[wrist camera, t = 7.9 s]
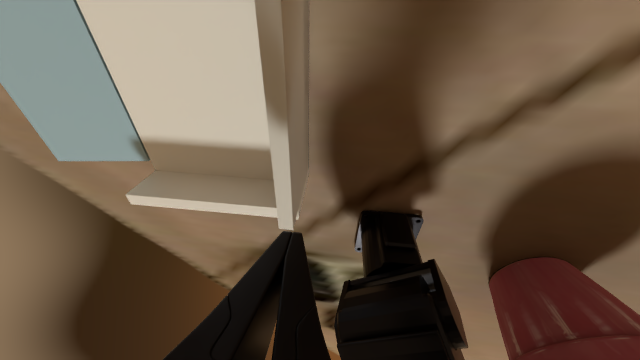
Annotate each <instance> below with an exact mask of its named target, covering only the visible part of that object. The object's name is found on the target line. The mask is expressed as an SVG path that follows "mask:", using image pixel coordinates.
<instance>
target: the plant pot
mask: <svg viewBox="0 0 640 360" xmlns="http://www.w3.org/2000/svg"><path fill="white" fill-rule="evenodd" d="M489 288H490V291H491V295H492V299H493V303H494V307H495V311H496V315H497V319H498V323H499V326H500V330H501V333H502V337H503V340H504V344H505V347H506V351H507V354H508V357H509V360H640V315H639V314H637V313H636V312H635V311H633V310H632V309H631V308H629V307H628V306H627V305H625V304H624V303H623V302H621V301H620V300H619V299H617V298H616V297H615V296H613V295H612V294H611V293H609V292H608V291H607V290H605V289H604V288H603V287H601V286H600V285H599V284H597V283H596V282H594V281H593V280H592V279H590V278H589V277H588V276H586V275H585V274H583V273H582V272H581V271H579V270H578V269H577V268H575V267H574V266H573V265H571V264H570V263H568V262H567V261H564V260H561V259H557V258H549V257H539V258H530V259H525V260H521V261H517V262H514V263H512V264H509V265H507V266H505V267H504V268H502V269H500V270H499V271H497V272H496V273H495V274H494V275H493V276H492V278H491V279H490V282H489Z"/></svg>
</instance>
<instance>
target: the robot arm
mask: <svg viewBox="0 0 640 360" xmlns="http://www.w3.org/2000/svg"><path fill="white" fill-rule="evenodd" d="M364 215H367V216H364ZM422 224H423V218H422V216H420V215H411V214H399V213H388V212H376V211H363V212H362V213H361V216H360V221H359V227H358V232H357V237H356V243H355V251H357V252H362V256H363V271H364V278H360V279H356V280H352V281H350V280H348V281H344V285H343V289H342V293H341V297H340V301H339V305H338V309H337V313H336V318H335V324H334V327H335V333H336V339H337V348H338V351H339V354H340V357H341V360H464V357H463V354H462V352H461V349H463V348H468V344H467V340H466V336H465V332H464V328H463V324H462V320H461V316H460V312H459V310H458V307H457V305H456V302H455V300H454V297H453V295H452V292H451V290H450V288H449V285H448V284H447V282H446V280H445V278H444V276H443V274H442V272H441V271H440V269H439V267H438V265H437V263H436V261H435V259H432V260H428V262H424V263H423V262H422V259H421V256H420V253H419V250H418V246H417V243H416V238H417V235H418V233H419V231H420V228H421V226H422ZM276 320H277V322H276ZM275 323H276V330H275V338H274V346H273V354H272V360H331V359H330V356H329V353H328V349H327V346H326V343H325V340H324V336H323V333H322V330H321V325H320V321H319V317H318V312H317V307H316V302H315V297H314V292H313V287H312V282H311V277H310V272H309V267H308V261H307V256H306V251H305V246H304V241H303V236H302V233H299V232H293V233H292V232H288V231H283V232H282V233H281V234H280V235H279V236H278V237H277V239H276V240H275V241H274V242H273V243H272V244H271V245H270V247H269V248H268V249H267V250H266V251H265V252H264V253H263V254H262V256H261V257H260V258H259V259H258V260H257V261H256V262H255V264H254V265H253V266H252V267H251V268H250V269H249V270H248V272H247V273H246V274H245V275H244V276H243V277H242V278H241V280H240V281H239V282H238V283H237V284H236V285H235V286H234V288H233V289H232V290H231V291H230V292H229V293H228V296H226V297H225V298H224V299H223V300H222V301H221V302H220V303H219V305H218V306H217V307H216V308H215V309H214V310H213V311H212V312H211V313H210V314H209V316H207V317H206V318H205V319H204V320H203V322H201V323H200V324H199V325H198V326H197V327H196V329H194V330H193V331H192V332H191V333H190V334H189V335H188V336H187V337H186V338H185V339H184V340H183V341H182V342H181V343H180V344H179V345H178V346H177V347H175V348H174V349H173V350H172V351H171V352H170V353H169V354H168V355H167V356H166V357H165V358H164V359H163V360H265V358H266V354H267V351H268V348H269V344H270V340H271V337H272V334H273V330H274V327H275Z"/></svg>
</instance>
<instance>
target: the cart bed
mask: <svg viewBox="0 0 640 360" xmlns="http://www.w3.org/2000/svg"><path fill="white" fill-rule="evenodd" d="M76 1H77V3H78V5H79V7H80V9H81V12H82V14H83V16H84V18H85V20H86V22H87V25H88V27H89V29H90V31H91V33H92V35H93V37H94V40H95V42H96V44H97V46H98V48H99V50H100V52H101V55H102V57H103V59H104V61H105V63H106V65H107V67H108V70H109V72H110V74H111V76H112V78H113V80H114V83H115V85H116V87H117V89H118V91H119V93H120V95H121V98H122V100H123V102H124V104H125V106H126V108H127V110H128V113H129V115H130V117H131V119H132V121H133V123H134V125H135V128H136V130H137V132H138V134H139V136H140V138H141V141H142V143H143V145H144V147H145V149H146V151H147V153H148V156H149V158H150V160H151V162H152V164H153V166H154V168H155V171H154V172H153V173H152V174H151V175H149V176H148V177H147V178H146V179H144V180H143V181H142V182H141V183H139V184H138V185H137V186H136V187H134V188H133V189H132V190H131V191H129V192H128V193H127V194H126V196H127V198H128V200H129V201H130V203H131V204H135V205H146V206H157V207H168V208H179V209H190V210H201V211H212V212H223V213H234V214H245V215H256V216H267V217H278V226H279V229H288V230H293V229H294V225H295V221H296V219H299V215H300V211H301V207H302V202H303V198H304V194H305V190H306V185H307V181H308V177H309V0H76Z"/></svg>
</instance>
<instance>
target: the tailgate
mask: <svg viewBox="0 0 640 360" xmlns="http://www.w3.org/2000/svg"><path fill="white" fill-rule="evenodd" d="M0 83H1V84H2V85H3V87H4V88H5V89H6V91H7V92H8V94H9V95H10V96H11V98H12V99H13V100H14V102H15V103H16V104H17V106H18V107H19V108H20V110H21V111H22V112H23V114H24V115H25V116H26V118H27V119H28V120H29V122H30V123H31V125H32V126H33V127H34V129H35V130H36V131H37V133H38V134H39V135H40V137H41V138H42V139H43V141H44V142H45V143H46V145H47V146H48V147H49V149H50V150H51V152H52V153H53V154H54V156H55V157H56V158H57V160H58V161H149V160H150V158H149V156H148V153H147V151H146V149H145V147H144V145H143V143H142V141H141V138H140V136H139V134H138V132H137V130H136V128H135V125H134V123H133V121H132V119H131V117H130V115H129V113H128V110H127V108H126V106H125V104H124V102H123V100H122V98H121V95H120V93H119V91H118V89H117V87H116V85H115V83H114V80H113V78H112V76H111V74H110V72H109V70H108V67H107V65H106V63H105V61H104V59H103V57H102V55H101V52H100V50H99V48H98V46H97V44H96V42H95V40H94V37H93V35H92V33H91V31H90V29H89V27H88V25H87V22H86V20H85V18H84V16H83V14H82V12H81V9H80V7H79V5H78V3H77V1H76V0H0Z"/></svg>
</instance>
